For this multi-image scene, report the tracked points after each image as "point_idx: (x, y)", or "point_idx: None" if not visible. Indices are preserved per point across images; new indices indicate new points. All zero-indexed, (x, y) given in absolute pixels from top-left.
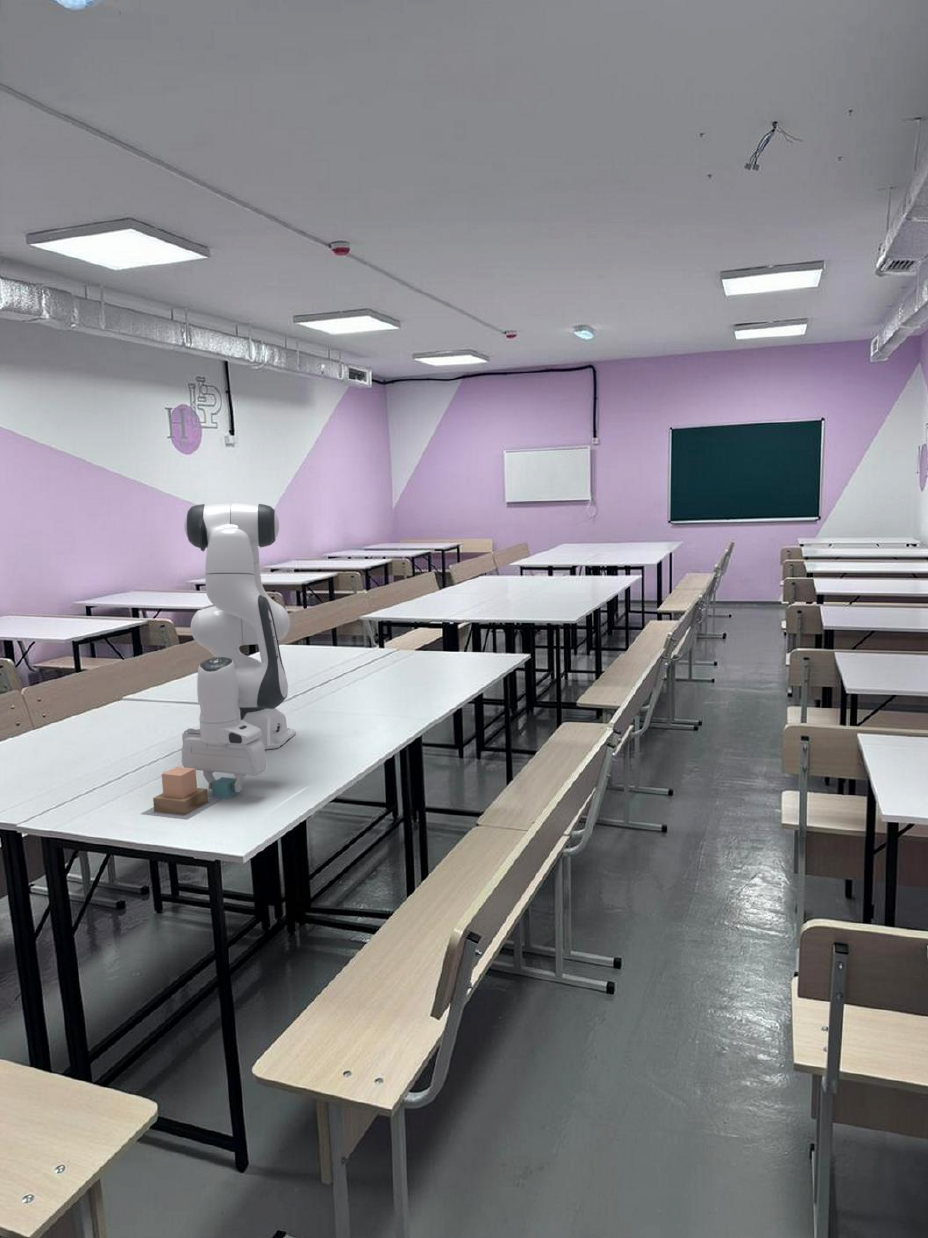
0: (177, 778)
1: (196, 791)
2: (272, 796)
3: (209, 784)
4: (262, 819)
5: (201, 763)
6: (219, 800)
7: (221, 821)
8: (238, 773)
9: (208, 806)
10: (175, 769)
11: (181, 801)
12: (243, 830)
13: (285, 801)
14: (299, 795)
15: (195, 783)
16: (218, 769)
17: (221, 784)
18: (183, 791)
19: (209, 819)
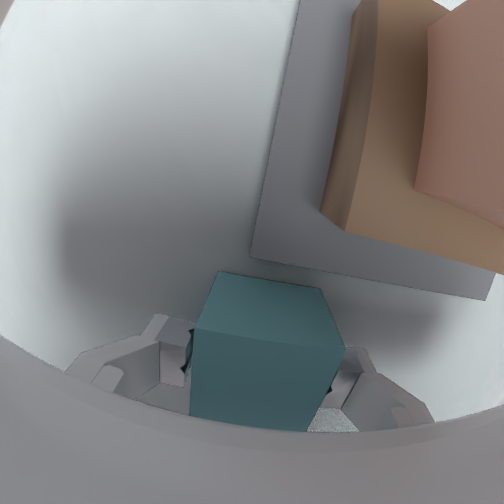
0: None
1: (410, 159)
2: (69, 333)
3: (367, 364)
4: (13, 96)
5: (475, 462)
6: (253, 239)
7: (143, 17)
8: (41, 362)
9: (280, 128)
10: None
11: None
12: (53, 2)
13: (13, 280)
14: (16, 331)
15: (459, 178)
16: (278, 451)
17: (253, 335)
18: (452, 19)
19: (212, 19)
